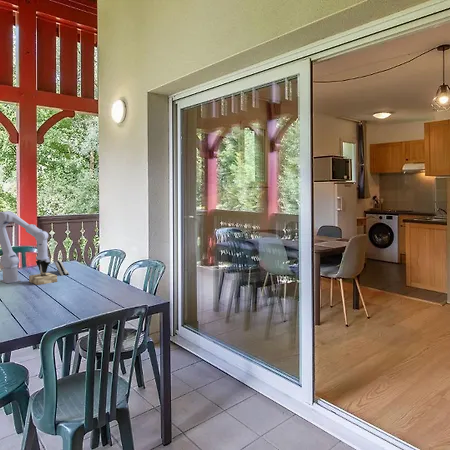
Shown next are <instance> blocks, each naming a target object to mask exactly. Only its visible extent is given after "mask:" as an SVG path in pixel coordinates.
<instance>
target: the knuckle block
mask: <svg viewBox="0 0 450 450" xmlns="http://www.w3.org/2000/svg"><path fill="white" fill-rule="evenodd" d="M28 281H29V283H31V284H34V285H37V286H40V285H46V284H52V283H57V282H58V275H56V274H53V273H51V272H46V276H42V277H41V275H40V273H38V274H31V275H29V276H28Z"/></svg>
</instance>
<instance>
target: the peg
mask: <svg viewBox="0 0 450 450" xmlns="http://www.w3.org/2000/svg"><path fill="white" fill-rule="evenodd" d="M40 262H43V261H40ZM46 273H47V272H46ZM46 273H42V267H41V264H40V271H39V274H40V275H41V277H42V276H46Z"/></svg>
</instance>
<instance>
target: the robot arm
mask: <svg viewBox="0 0 450 450" xmlns="http://www.w3.org/2000/svg"><path fill="white" fill-rule="evenodd" d="M10 223H14V224H17V225H18V226H20V227H21V228H24V229H25V232H26V233H28V234H29V235H31V236H32V237H34V238H35V240H36V247H37V248H36V249H37V252H36V253H37V254H36V255H37V256H35V260H37V261H35V262H36V265H37V267H38V270H39V272H40V264H41V267H42V273H48V271H47V270H48V267H49V265H50V263H51V260H50V257H49V256H48V255H49V254H48V239H49V237H50V236H49V232H47V231H46V230H43V229H41V228H39V227H37V225H36V224H32V223H31V224H29V223H28V222H26V221H25V220H24V219H22V218H21V217H19V216H18V215H17V214H16V213H14V212H13V211H11V210H7V211H0V248H1V251H2V255H1V265H2V267H3V269H2V279H1V282H3V283H5V284H12V283H18V282H21V281H22V280H20V279H19V273H18V272H19V271H18V266H19V264H20V259H19V256H18V255H17V253H16V252H15V251H14V250H13V247H12V245H11V241H10V238H9V235H8V231H7V226H8V224H10ZM40 261H43V262H40Z"/></svg>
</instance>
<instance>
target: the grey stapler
mask: <svg viewBox="0 0 450 450" xmlns="http://www.w3.org/2000/svg"><path fill="white" fill-rule="evenodd" d="M54 265H55V267H56V269H57V272H58V273H59V274H60V276H64V275H67V274H68V276H69V275H70V273H69V271H68V270H67V269H66V268H65V265H64V263H63V261H62V260H60V259H59V260H57V261H55V262H54Z"/></svg>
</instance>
